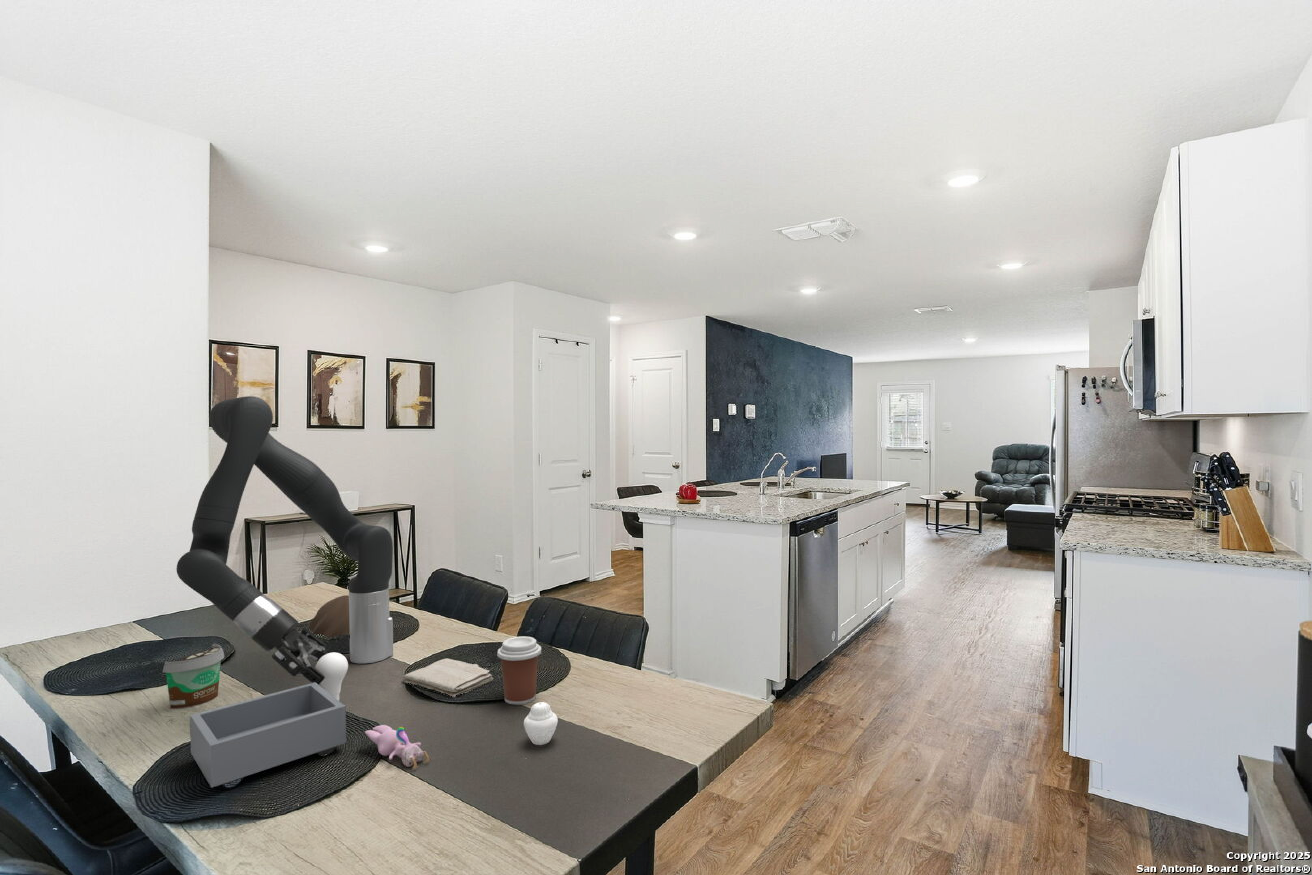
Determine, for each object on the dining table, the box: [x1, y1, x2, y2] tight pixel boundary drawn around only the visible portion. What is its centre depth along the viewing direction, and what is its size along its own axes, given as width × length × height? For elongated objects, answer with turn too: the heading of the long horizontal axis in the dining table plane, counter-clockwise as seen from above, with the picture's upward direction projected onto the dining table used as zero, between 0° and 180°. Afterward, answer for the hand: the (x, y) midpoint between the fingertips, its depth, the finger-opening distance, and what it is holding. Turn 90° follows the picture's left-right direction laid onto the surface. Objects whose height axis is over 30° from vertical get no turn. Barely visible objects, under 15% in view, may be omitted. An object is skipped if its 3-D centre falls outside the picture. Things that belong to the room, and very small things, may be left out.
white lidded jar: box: [523, 701, 559, 746], centre depth 117 cm, size 6×6×7 cm
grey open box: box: [189, 682, 347, 789], centre depth 113 cm, size 20×16×8 cm
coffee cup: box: [496, 635, 542, 706], centre depth 136 cm, size 9×9×12 cm
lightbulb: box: [314, 652, 349, 701], centre depth 134 cm, size 6×6×11 cm
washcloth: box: [402, 658, 494, 698], centre depth 147 cm, size 12×18×3 cm, turn 60°
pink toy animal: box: [364, 724, 431, 771], centre depth 113 cm, size 6×6×15 cm
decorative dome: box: [308, 594, 350, 637], centre depth 187 cm, size 19×20×10 cm
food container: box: [162, 643, 225, 709], centre depth 138 cm, size 12×6×10 cm, turn 168°
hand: (328, 674), depth 134 cm, fingers open, 8 cm apart
